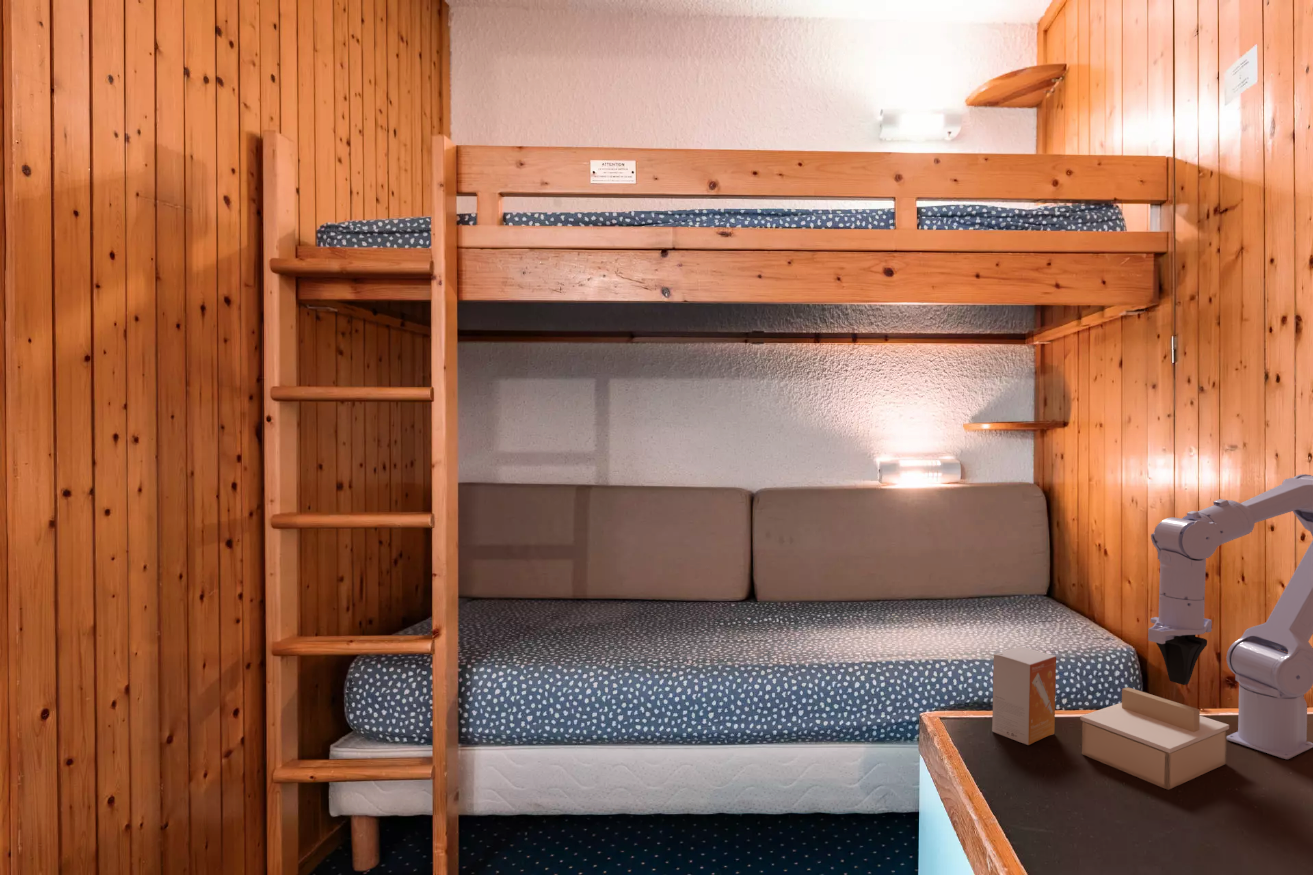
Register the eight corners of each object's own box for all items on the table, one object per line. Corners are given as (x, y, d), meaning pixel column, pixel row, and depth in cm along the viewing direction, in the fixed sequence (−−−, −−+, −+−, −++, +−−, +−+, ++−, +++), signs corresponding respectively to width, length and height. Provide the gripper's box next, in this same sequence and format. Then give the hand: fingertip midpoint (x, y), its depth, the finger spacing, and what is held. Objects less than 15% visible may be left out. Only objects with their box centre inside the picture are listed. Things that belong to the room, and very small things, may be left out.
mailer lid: (1140, 699, 118) (1140, 678, 117) (1229, 728, 107) (1229, 704, 107) (1080, 719, 110) (1080, 696, 110) (1169, 752, 99) (1170, 727, 99)
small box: (1029, 746, 112) (1030, 664, 112) (991, 731, 118) (992, 653, 117) (1056, 734, 117) (1057, 655, 117) (1018, 720, 122) (1019, 644, 122)
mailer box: (1140, 732, 117) (1140, 702, 117) (1226, 763, 107) (1226, 730, 107) (1081, 754, 110) (1082, 721, 110) (1168, 789, 99) (1168, 754, 99)
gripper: (1177, 585, 118) (1175, 667, 119) (1128, 594, 111) (1125, 681, 112) (1228, 595, 112) (1225, 681, 112) (1178, 605, 105) (1175, 697, 105)
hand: (1178, 682), depth 112 cm, fingers closed
